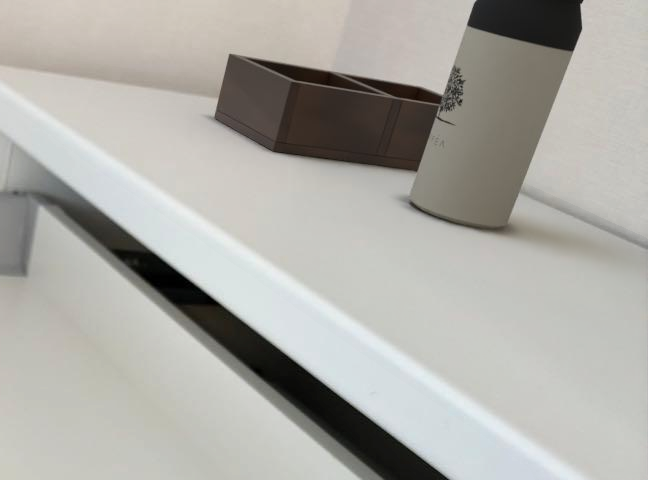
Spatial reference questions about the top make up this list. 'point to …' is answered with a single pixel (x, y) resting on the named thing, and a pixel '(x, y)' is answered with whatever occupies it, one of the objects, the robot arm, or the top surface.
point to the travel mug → (495, 108)
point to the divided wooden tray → (327, 112)
